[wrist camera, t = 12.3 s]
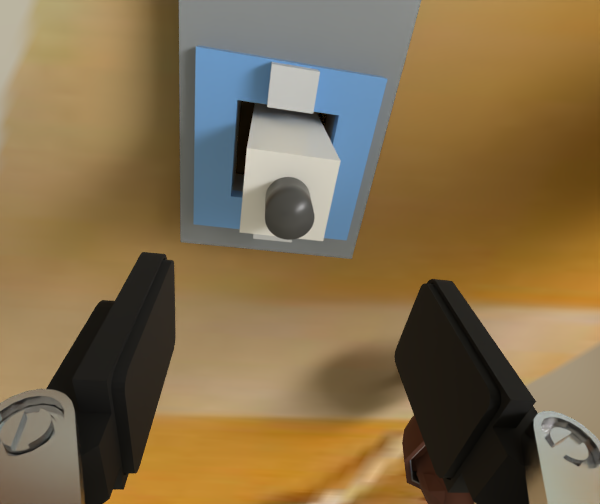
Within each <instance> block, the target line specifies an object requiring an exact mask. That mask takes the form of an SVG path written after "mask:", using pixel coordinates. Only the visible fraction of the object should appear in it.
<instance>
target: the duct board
mask: <svg viewBox="0 0 600 504" xmlns="http://www.w3.org/2000/svg"><path fill="white" fill-rule="evenodd" d="M420 3H421V0H179V96H180V238H181V242H185V243H195V244H205V245H216V246H226V247H236V248H246V249H256V250H267V251H277V252H287V253H297V254H307V255H317V256H328V257H338V258H348V259H352V256H353V252H354V248H355V245H356V241H357V237H358V233H359V230H360V226H361V222H362V219H363V215H364V211H365V207H366V204H367V200H368V196H369V193H370V189H371V185H372V181H373V178H374V174H375V170H376V166H377V163H378V159H379V155H380V152H381V148H382V144H383V140H384V137H385V133H386V129H387V126H388V122H389V118H390V114H391V111H392V107H393V103H394V100H395V96H396V92H397V88H398V85H399V81H400V77H401V74H402V70H403V66H404V62H405V59H406V55H407V51H408V47H409V44H410V40H411V36H412V33H413V29H414V25H415V21H416V18H417V14H418V10H419V7H420ZM241 101H247V102H254V103H261V104H267V107H271V108H277V109H284V110H291V111H297V112H304V113H310V114H313V112H320V113H326V114H327V117H326V123H325V130H326V132H327V134H328V136H329V138H330V140H331V142H332V144H333V147H334V149H335V151H336V153H337V155H338V157H339V159H340V161H341V162H340V166H339V171H338V175H337V180H336V184H335V189H334V194H333V198H332V203H331V207H330V212H329V216H328V221H327V225H326V230H325V235H324V239H323V241H316V240H306V239H293V240H285V239H281V238H278V237H276V236H269V235H259V234H250V233H240V221H241V209H242V198H243V186H244V175H243V174H236V164H237V150H238V136H239V123H240V109H241Z"/></svg>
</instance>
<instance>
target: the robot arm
mask: <svg viewBox="0 0 600 504" xmlns="http://www.w3.org/2000/svg"><path fill="white" fill-rule="evenodd" d="M174 345H175V287H174V261H173V260H167V257H166V255H165V254H158V253H147V252H142V253H141V255H140V256H139V258H138V260H137V262H136V264H135V266H134V267H133V269H132V271H131V273H130V275H129V276H128V278H127V280H126V282H125V284H124V286H123V287H122V289H121V291H120V293H119V295H118V296H117V298H116V300H115V301H106V300H102V301H101V302H99V303H98V305H97V306H96V307H95V309H94V311H93V312H92V314H91V316H90V317H89V319H88V321H87V322H86V324H85V326H84V327H83V329H82V331H81V332H80V334H79V336H78V337H77V339H76V341H75V342H74V344H73V346H72V347H71V349H70V350H69V352H68V354H67V355H66V357H65V359H64V360H63V362H62V364H61V365H60V367H59V369H58V370H57V372H56V374H55V375H54V377H53V379H52V380H51V382H50V384H49V385H48V387H47V389H38V390H31V391H26V392H23V393H21V394H18V395H15V396H12V397H10V398H9V399H7V400H5V401H3V402H2V403H0V504H103V503H104V502H106V501H107V500H108V499H110V496H111V493H112V490H113V489H124V487H125V483H126V480H127V477H128V474H129V473H137V471H138V469H139V466H140V463H141V460H142V456H143V453H144V449H145V446H146V443H147V439H148V436H149V432H150V429H151V425H152V422H153V418H154V415H155V412H156V408H157V405H158V401H159V398H160V394H161V391H162V388H163V384H164V381H165V377H166V374H167V370H168V367H169V364H170V360H171V357H172V353H173V350H174ZM395 363H396V366H397V369H398V372H399V374H400V377H401V380H402V383H403V385H404V388H405V391H406V394H407V396H408V399H409V402H410V405H411V407H412V410H413V413H414V416H415V418H416V421H417V424H418V426H419V429H420V432H421V435H422V437H423V440H424V443H425V446H426V448H427V451H428V454H429V457H430V459H431V462H432V465H433V468H434V470H435V473H436V474H437V476H438V477H439V478H443V481H444V484H445V486H446V489H447V492H448V493H470V495H471V497H472V500H473V501H474V504H600V441H599V440H598V439H597V438H596V436H595V435H594V434H592V433H591V432H590V431H589V430H588V429H587V428H586V427H584V426H583V425H582V424H580V423H579V422H577V421H576V420H574V419H572V418H570V417H568V416H566V415H563V414H560V413H557V412H554V411H543V412H541V413H537V411H536V410H535V408H534V407H533V405H534V403H535V402H536V401H535V399H534V398H533V396H532V395H531V394H530V392H529V391H528V389H527V388H526V386H525V385H524V384H523V382H522V381H521V379H520V378H519V376H518V375H517V373H516V372H515V371H514V369H513V368H512V366H511V365H510V363H509V362H508V360H507V359H506V358H505V356H504V355H503V353H502V352H501V350H500V349H499V348H498V346H497V345H496V343H495V342H494V340H493V339H492V337H491V336H490V335H489V333H488V332H487V330H486V329H485V327H484V326H483V325H482V323H481V322H480V320H479V319H478V317H477V316H476V314H475V313H474V312H473V310H472V309H471V307H470V306H469V304H468V303H467V302H466V300H465V299H464V297H463V296H462V294H461V293H460V291H459V290H458V289H457V287H456V286H455V284H454V283H453V282H452V281H447V280H436V279H431V280H429V281H428V282H427V284H423V285H422V286H421V288H420V290H419V293H418V295H417V298H416V300H415V303H414V305H413V308H412V310H411V313H410V315H409V318H408V320H407V323H406V325H405V328H404V330H403V333H402V335H401V338H400V340H399V343H398V345H397V348H396V351H395Z"/></svg>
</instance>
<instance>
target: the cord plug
mask: <svg viewBox="0 0 600 504" xmlns="http://www.w3.org/2000/svg"><path fill="white" fill-rule="evenodd" d="M340 162H341V161H340V159H339V157H338V155H337V153H336V151H335V149H334V147H333V144H332V142H331V140H330V138H329V136H328V134H327V132H326V130H325V128H324V126H323V124H322V122H321V120H320V118H319V116H318V114H317V112H313V114H310V113H304V112H297V111H291V110H284V109H277V108H271V107H267V104H261V103H255V106H254V111H253V117H252V122H251V128H250V133H249V139H248V144H247V152H246V163H245V175H244V186H243V198H242V209H241V221H240V233H250V234H259V235H269V236H276V237H278V238H281V239H285V240H293V239H306V240H316V241H323V239H324V235H325V230H326V225H327V221H328V216H329V212H330V207H331V203H332V198H333V194H334V189H335V184H336V180H337V175H338V171H339V166H340Z"/></svg>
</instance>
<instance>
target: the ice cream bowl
mask: <svg viewBox="0 0 600 504" xmlns="http://www.w3.org/2000/svg"><path fill="white" fill-rule="evenodd" d="M402 444H403V453H404V462H405V470H406V479H407V483H409V484H411V485H413V486H415V487H417V488H419V489H421V490H422V493H423V495H424V497H425V499H426V501H427V503H428V504H474V501H473V500H472V497H471V495H470V493H448V492H447V489H446V486H445V484H444V481H443V478H439V477H438V476H437V474H436V473H435V470H434V468H433V465H432V462H431V459H430V457H429V454H428V451H427V448H426V446H425V443H424V440H423V437H422V435H421V432H420V429H419V426H418V424H417V421H416V418H415V416H413V417H412V418H411V420H410V421H409V423H408V425H407V426H406V428H405V429H404V435H403V442H402Z"/></svg>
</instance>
